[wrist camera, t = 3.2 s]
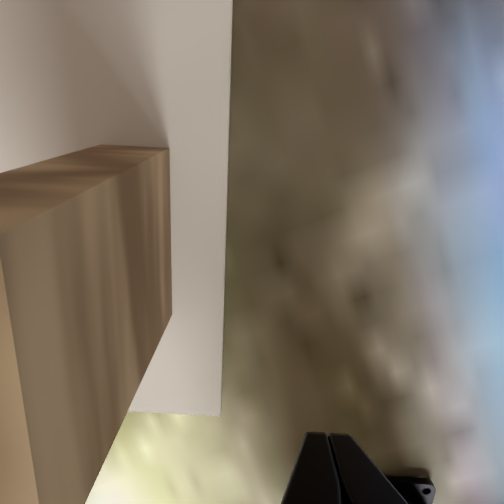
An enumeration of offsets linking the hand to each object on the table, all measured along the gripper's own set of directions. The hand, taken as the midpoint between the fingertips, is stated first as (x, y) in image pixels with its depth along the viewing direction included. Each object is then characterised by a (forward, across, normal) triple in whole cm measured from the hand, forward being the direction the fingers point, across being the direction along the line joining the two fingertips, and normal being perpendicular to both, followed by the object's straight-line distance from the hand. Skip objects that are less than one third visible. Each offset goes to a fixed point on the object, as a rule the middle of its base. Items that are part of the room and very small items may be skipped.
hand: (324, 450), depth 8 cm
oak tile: (+12, +7, 0) cm, 14 cm away
